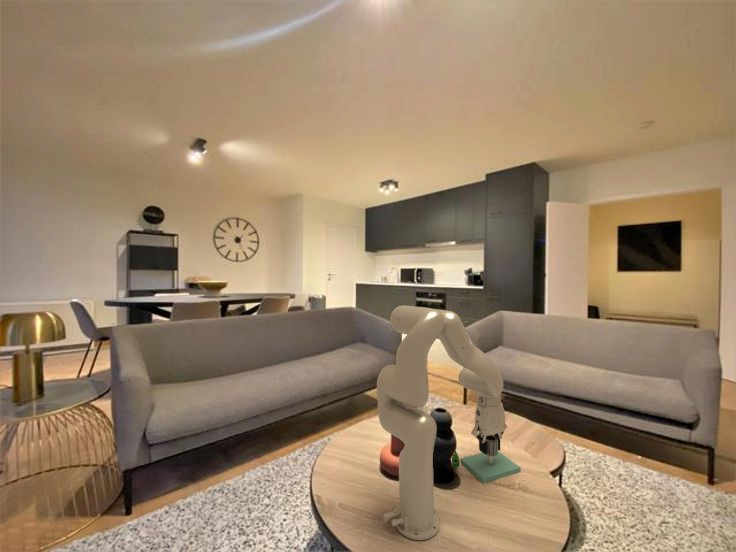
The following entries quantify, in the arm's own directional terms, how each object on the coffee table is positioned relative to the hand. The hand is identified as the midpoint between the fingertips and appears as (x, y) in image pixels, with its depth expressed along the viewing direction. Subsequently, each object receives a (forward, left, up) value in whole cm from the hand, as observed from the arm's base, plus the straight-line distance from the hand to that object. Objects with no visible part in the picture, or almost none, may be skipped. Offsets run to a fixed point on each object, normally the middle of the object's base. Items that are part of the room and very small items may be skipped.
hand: (489, 449), depth 112 cm
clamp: (-17, +5, -7) cm, 19 cm away
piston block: (0, 0, -6) cm, 6 cm away
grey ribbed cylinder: (0, 0, -1) cm, 1 cm away
